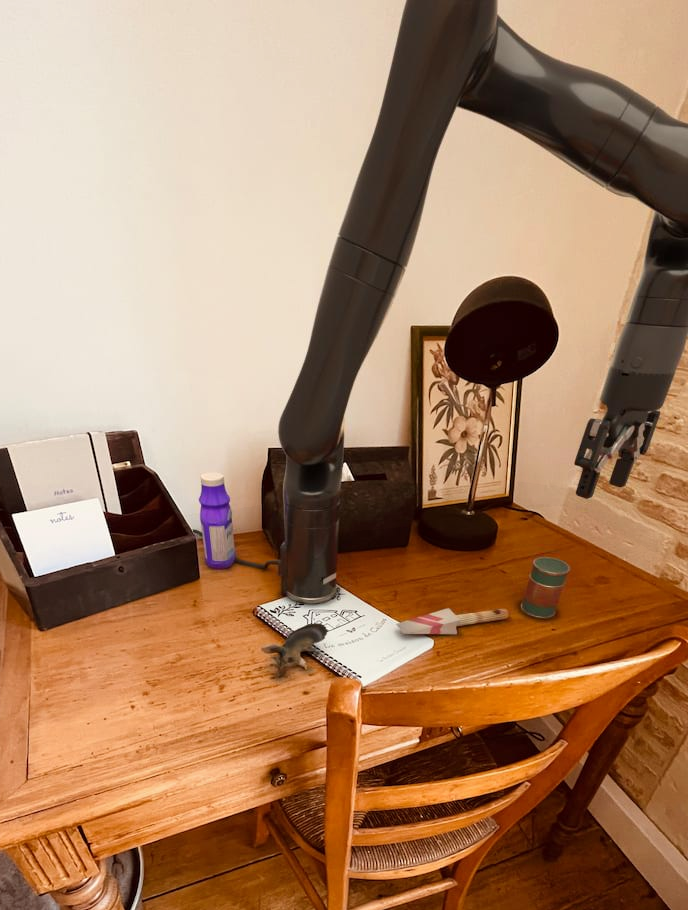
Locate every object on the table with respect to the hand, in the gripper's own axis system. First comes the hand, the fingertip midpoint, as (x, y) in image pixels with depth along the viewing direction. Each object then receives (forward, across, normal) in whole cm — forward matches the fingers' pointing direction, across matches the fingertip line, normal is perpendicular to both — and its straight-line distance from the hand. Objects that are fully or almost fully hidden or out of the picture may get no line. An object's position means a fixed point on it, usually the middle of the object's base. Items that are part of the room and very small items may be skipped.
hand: (600, 491), depth 75 cm
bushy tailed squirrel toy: (+23, +43, -15) cm, 51 cm away
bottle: (+23, +38, -50) cm, 67 cm away
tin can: (+23, -1, -4) cm, 24 cm away
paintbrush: (+23, +16, -9) cm, 29 cm away
